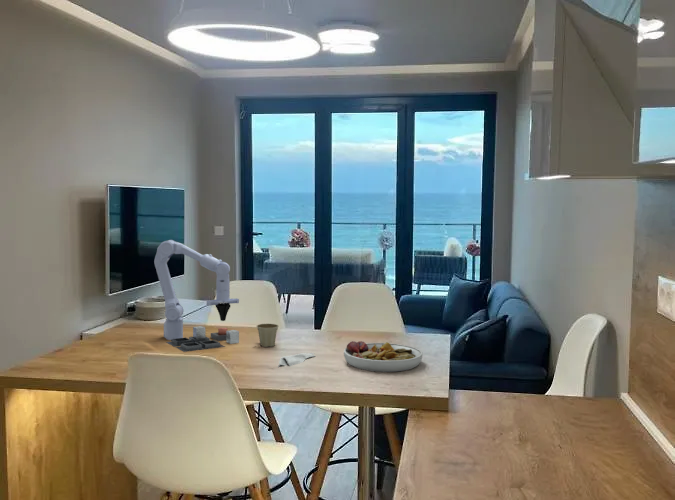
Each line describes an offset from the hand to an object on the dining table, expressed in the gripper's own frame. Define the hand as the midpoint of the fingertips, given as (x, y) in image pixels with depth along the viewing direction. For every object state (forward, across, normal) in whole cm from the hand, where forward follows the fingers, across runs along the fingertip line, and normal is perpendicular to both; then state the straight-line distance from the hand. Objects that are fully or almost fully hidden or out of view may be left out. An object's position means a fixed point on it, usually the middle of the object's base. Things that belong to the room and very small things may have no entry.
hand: (222, 320), depth 277 cm
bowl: (+10, +35, -69) cm, 78 cm away
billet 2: (+9, 0, -10) cm, 13 cm away
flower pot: (+9, +12, -19) cm, 24 cm away
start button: (+6, 0, 0) cm, 6 cm away
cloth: (+10, +9, -46) cm, 48 cm away
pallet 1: (+9, -15, 0) cm, 17 cm away
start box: (+9, 0, 0) cm, 9 cm away
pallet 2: (+9, -15, -11) cm, 21 cm away
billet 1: (+8, -11, 0) cm, 14 cm away
